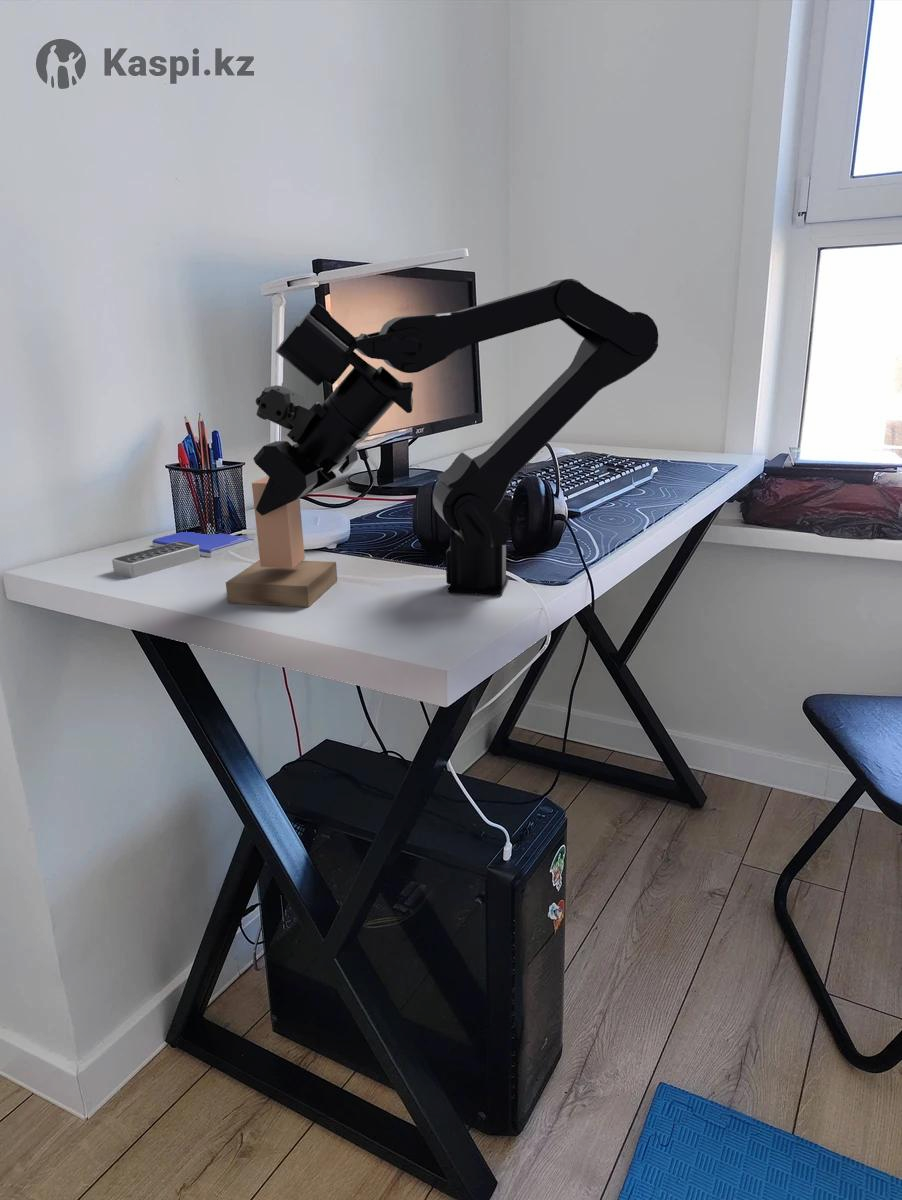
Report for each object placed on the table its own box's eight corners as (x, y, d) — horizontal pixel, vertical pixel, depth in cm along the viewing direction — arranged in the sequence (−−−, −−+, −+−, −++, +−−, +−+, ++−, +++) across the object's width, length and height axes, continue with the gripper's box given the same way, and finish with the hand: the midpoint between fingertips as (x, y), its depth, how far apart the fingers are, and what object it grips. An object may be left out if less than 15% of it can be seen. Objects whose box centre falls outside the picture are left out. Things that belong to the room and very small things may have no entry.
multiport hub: (112, 575, 113) (110, 558, 112) (182, 556, 121) (180, 540, 120) (132, 581, 110) (130, 563, 109) (202, 561, 118) (200, 544, 118)
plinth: (337, 581, 107) (336, 561, 106) (308, 607, 98) (307, 586, 97) (262, 577, 109) (261, 558, 108) (227, 602, 100) (225, 582, 99)
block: (304, 558, 104) (297, 476, 101) (292, 568, 100) (284, 483, 97) (274, 557, 105) (265, 476, 101) (260, 566, 101) (251, 483, 98)
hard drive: (253, 537, 125) (195, 527, 132) (210, 549, 119) (151, 539, 125) (254, 547, 126) (196, 537, 132) (211, 560, 119) (153, 549, 126)
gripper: (326, 355, 103) (250, 447, 108) (263, 365, 85) (176, 474, 91) (392, 421, 104) (313, 509, 109) (343, 445, 86) (252, 547, 92)
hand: (266, 508), depth 100 cm, fingers closed on block, 4 cm apart
